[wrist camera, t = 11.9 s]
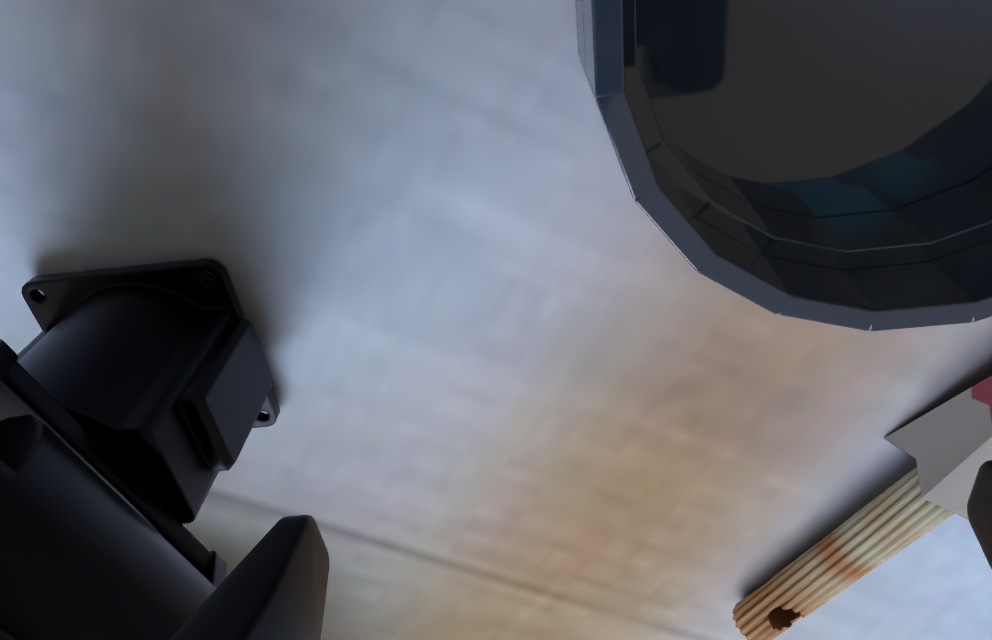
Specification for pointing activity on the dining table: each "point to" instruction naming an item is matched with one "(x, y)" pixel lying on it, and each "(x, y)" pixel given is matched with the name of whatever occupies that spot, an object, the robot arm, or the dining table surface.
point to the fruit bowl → (809, 147)
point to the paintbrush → (883, 514)
